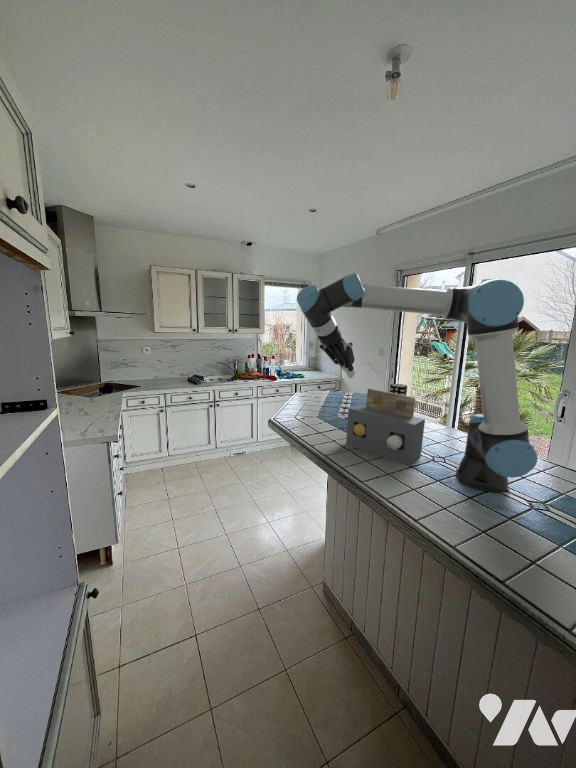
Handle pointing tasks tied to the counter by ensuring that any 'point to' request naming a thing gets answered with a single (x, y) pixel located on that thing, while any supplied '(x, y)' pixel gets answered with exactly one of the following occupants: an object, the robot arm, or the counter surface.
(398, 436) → the button ivory
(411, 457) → the console
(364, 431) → the button ochre
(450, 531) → the counter surface
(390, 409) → the placard
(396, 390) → the black white block
